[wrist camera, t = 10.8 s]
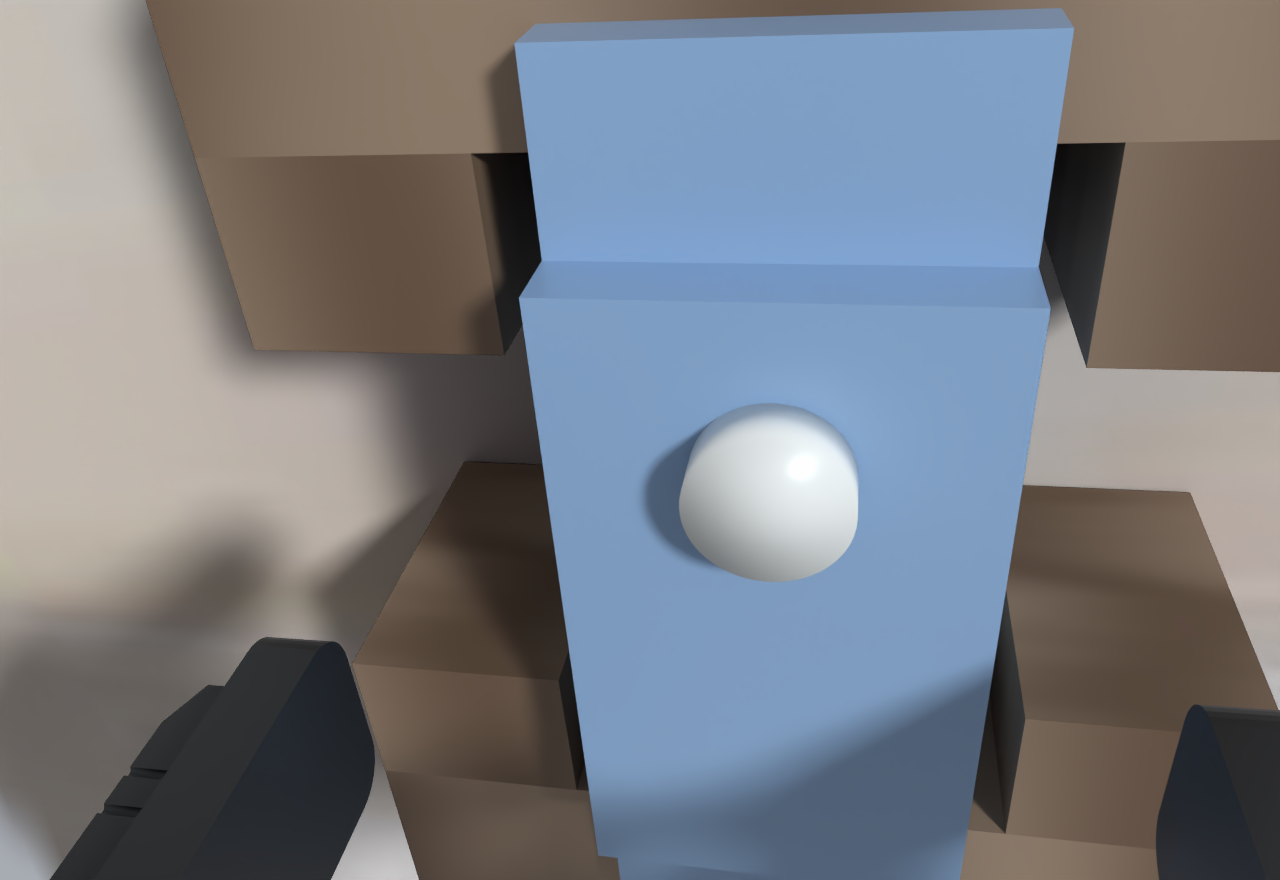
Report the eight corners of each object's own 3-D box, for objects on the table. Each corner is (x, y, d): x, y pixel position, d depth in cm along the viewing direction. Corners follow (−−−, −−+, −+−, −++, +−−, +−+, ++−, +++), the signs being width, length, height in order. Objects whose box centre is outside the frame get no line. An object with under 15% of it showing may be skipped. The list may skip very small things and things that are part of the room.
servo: (675, 642, 20) (601, 984, 14) (629, -60, 13) (462, 88, 8) (925, 663, 19) (944, 1033, 14) (1006, -76, 12) (1107, 76, 7)
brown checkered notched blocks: (510, 689, 22) (427, 907, 18) (319, -255, 13) (69, -244, 9) (1126, 741, 20) (1191, 1005, 16) (1404, -360, 11) (1724, -409, 7)
